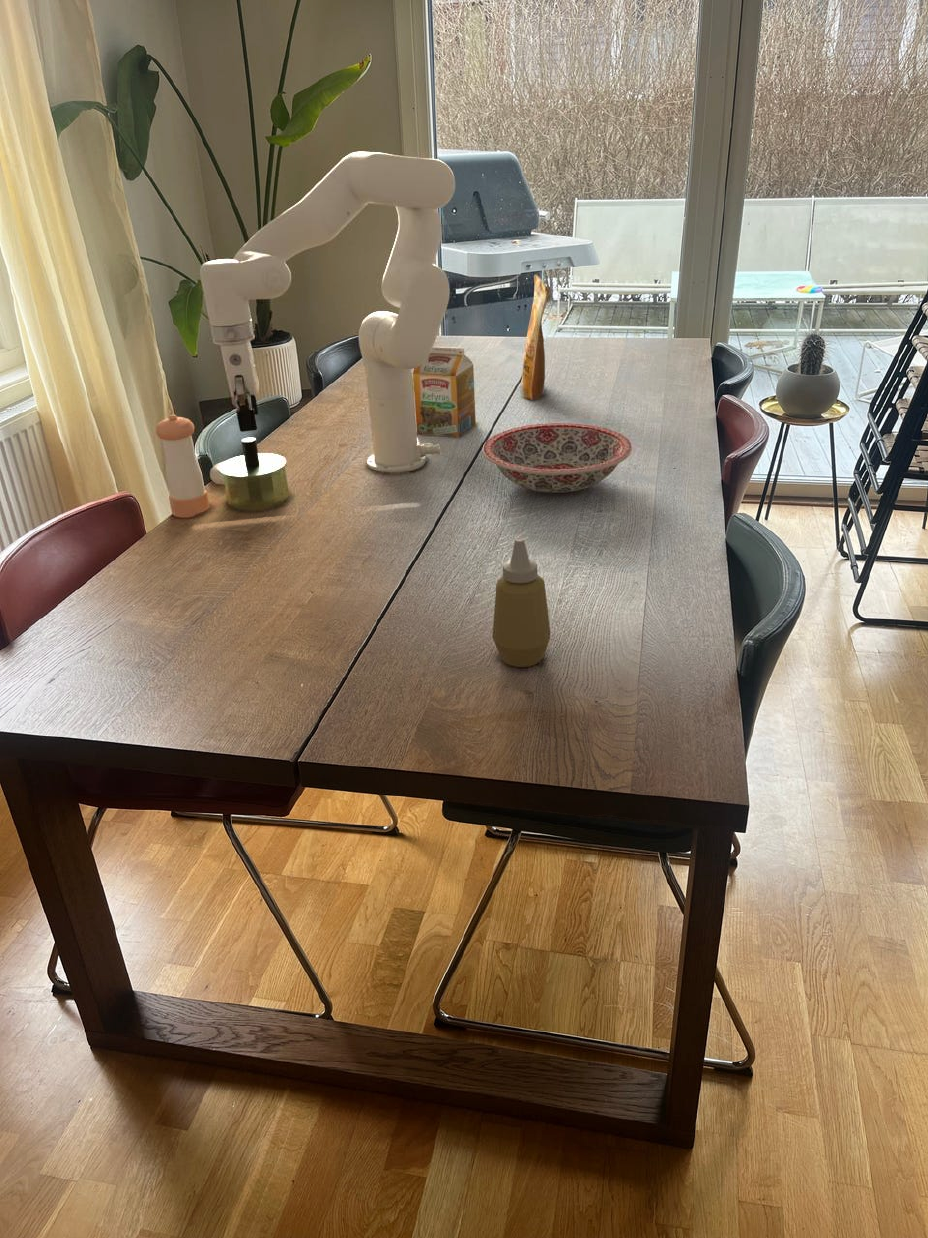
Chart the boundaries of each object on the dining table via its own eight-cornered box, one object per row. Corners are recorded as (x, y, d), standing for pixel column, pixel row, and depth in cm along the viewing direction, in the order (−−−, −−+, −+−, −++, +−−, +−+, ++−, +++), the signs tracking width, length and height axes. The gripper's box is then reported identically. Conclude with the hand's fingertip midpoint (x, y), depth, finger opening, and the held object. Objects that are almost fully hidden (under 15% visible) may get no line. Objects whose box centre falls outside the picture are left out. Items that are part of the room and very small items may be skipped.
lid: (286, 456, 193) (282, 426, 190) (286, 478, 182) (282, 447, 179) (221, 462, 192) (216, 432, 189) (217, 485, 181) (212, 453, 178)
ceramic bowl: (647, 467, 196) (649, 430, 192) (604, 521, 173) (605, 479, 169) (516, 453, 207) (515, 417, 203) (459, 501, 185) (457, 462, 181)
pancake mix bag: (547, 381, 257) (546, 272, 243) (549, 401, 240) (549, 285, 227) (522, 381, 257) (520, 273, 244) (522, 402, 241) (521, 286, 227)
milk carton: (417, 433, 222) (411, 351, 213) (435, 420, 231) (430, 340, 222) (458, 437, 219) (454, 353, 209) (475, 423, 227) (472, 342, 218)
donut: (203, 488, 198) (248, 489, 195) (200, 472, 196) (245, 473, 194) (223, 471, 206) (266, 472, 204) (220, 456, 204) (263, 456, 202)
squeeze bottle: (490, 645, 137) (485, 529, 128) (545, 640, 137) (545, 525, 128) (496, 675, 129) (492, 555, 121) (555, 670, 130) (555, 550, 121)
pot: (289, 486, 196) (284, 454, 193) (289, 508, 186) (284, 474, 182) (229, 492, 195) (224, 460, 191) (226, 514, 184) (220, 480, 181)
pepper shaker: (190, 520, 182) (171, 422, 173) (164, 513, 186) (143, 418, 177) (218, 507, 188) (200, 412, 178) (191, 501, 191) (173, 407, 182)
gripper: (252, 340, 167) (268, 434, 176) (254, 319, 182) (269, 407, 191) (208, 345, 166) (227, 439, 175) (214, 323, 181) (231, 411, 190)
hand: (249, 422), depth 183 cm, fingers open, 9 cm apart
